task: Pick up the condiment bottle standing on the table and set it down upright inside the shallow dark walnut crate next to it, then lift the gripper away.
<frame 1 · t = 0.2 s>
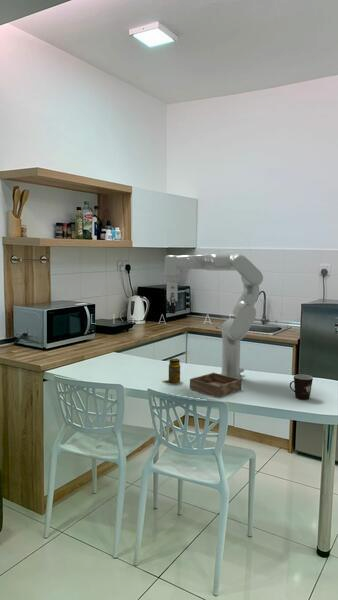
hand: (171, 312, 237), 36 cm above the table, tool pointing down, fingers open, 9 cm apart
crate: (215, 389, 225), on the table
condiment: (172, 382, 237), on the table
coffee mug: (299, 398, 214), on the table
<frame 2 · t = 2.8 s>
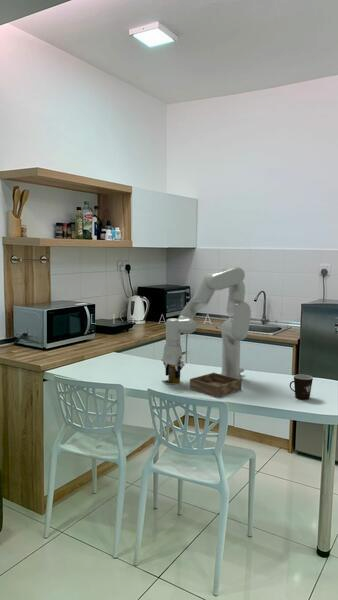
hand: (172, 376, 237), 3 cm above the table, tool pointing down, fingers open, 6 cm apart
condiment: (172, 382, 237), on the table, touching gripper
everything else where it was.
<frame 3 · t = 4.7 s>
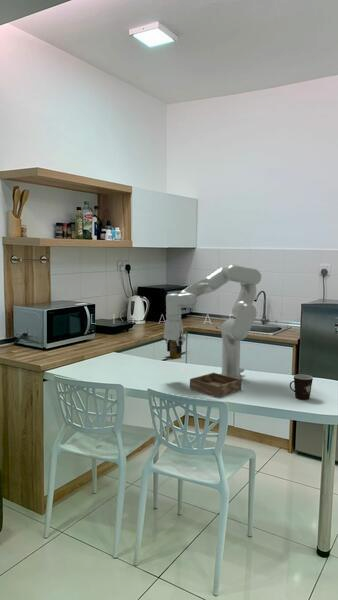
hand: (174, 351, 235), 16 cm above the table, tool pointing down, fingers closed on condiment, 6 cm apart
condiment: (174, 358, 236), point 13 cm above the table, touching gripper
everything else where it was.
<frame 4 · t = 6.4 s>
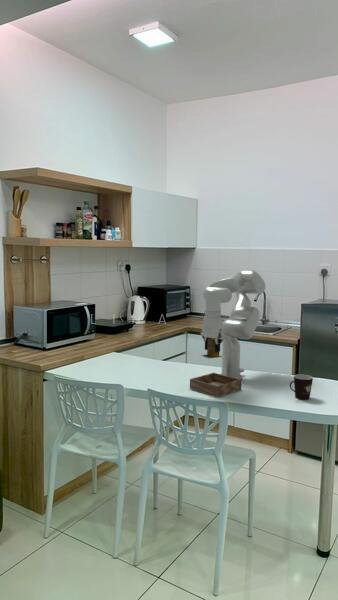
hand: (212, 350, 224), 19 cm above the table, tool pointing down, fingers closed on condiment, 6 cm apart
condiment: (211, 356, 225), point 16 cm above the table, touching gripper
everything else where it was.
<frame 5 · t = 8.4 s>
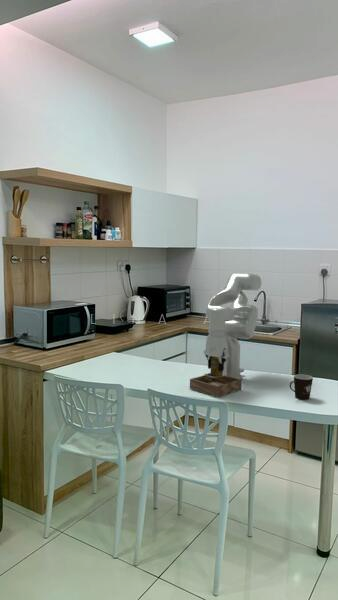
hand: (215, 369, 224), 10 cm above the table, tool pointing down, fingers closed on condiment, 6 cm apart
condiment: (214, 375, 225), point 7 cm above the table, touching gripper
everything else where it was.
when the fingers open (5 cm above the table, at t = 9.8 s): condiment drops 1 cm, resting on crate.
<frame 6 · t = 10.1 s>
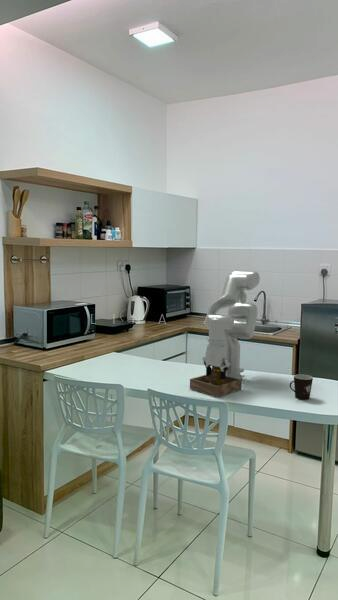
hand: (215, 377, 225), 6 cm above the table, tool pointing down, fingers open, 8 cm apart
condiment: (215, 387, 225), point 1 cm above the table, touching crate
everything else where it was.
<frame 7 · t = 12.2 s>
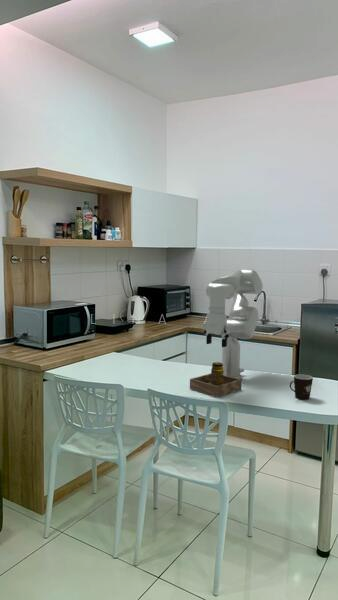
hand: (216, 345, 223), 22 cm above the table, tool pointing down, fingers open, 9 cm apart
nothing on the table moved.
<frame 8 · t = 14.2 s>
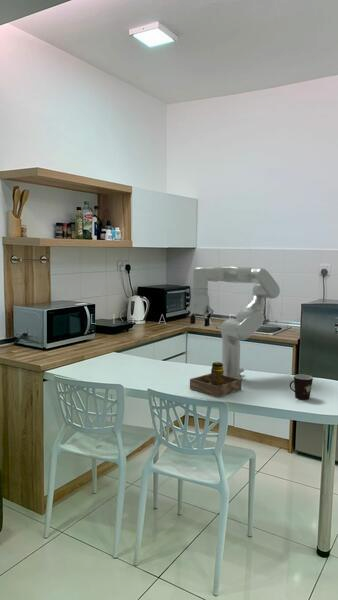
hand: (199, 325, 233), 30 cm above the table, tool pointing down, fingers open, 9 cm apart
nothing on the table moved.
at the end: condiment inside the target area on the crate (0.1 cm from its centre), point 0.8 cm above the crate's base; condiment tilted 0°; the gripper is holding nothing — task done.
